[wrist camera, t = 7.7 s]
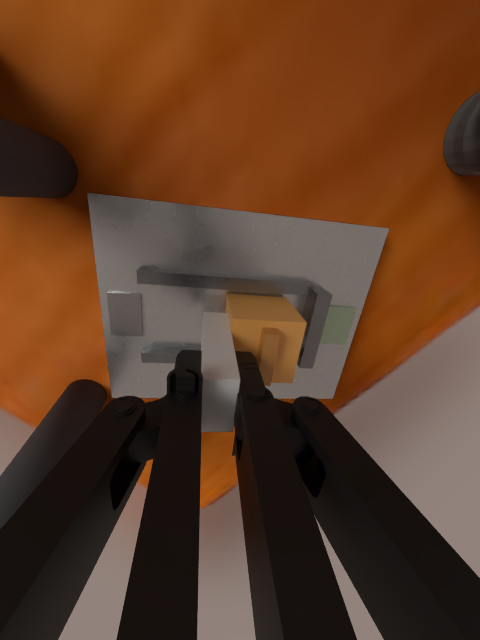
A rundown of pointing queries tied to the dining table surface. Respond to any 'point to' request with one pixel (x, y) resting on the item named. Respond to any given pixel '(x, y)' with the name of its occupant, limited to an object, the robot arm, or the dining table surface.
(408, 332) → the dining table surface
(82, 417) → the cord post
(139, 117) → the dining table surface
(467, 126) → the beverage cup
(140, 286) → the breaker panel
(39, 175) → the cord post
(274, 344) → the block
